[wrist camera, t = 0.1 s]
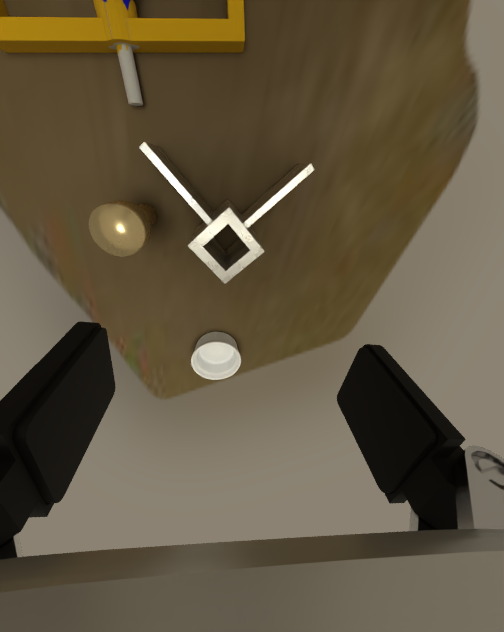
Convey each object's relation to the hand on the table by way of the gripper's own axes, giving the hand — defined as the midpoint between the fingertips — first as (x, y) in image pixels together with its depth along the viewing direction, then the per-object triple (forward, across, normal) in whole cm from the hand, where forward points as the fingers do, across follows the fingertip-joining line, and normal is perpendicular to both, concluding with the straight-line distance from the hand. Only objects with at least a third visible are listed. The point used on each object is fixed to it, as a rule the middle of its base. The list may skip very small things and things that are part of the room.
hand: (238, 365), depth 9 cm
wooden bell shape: (+31, +12, +1) cm, 33 cm away
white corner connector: (+31, +1, -5) cm, 32 cm away
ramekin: (+32, 0, +24) cm, 39 cm away
